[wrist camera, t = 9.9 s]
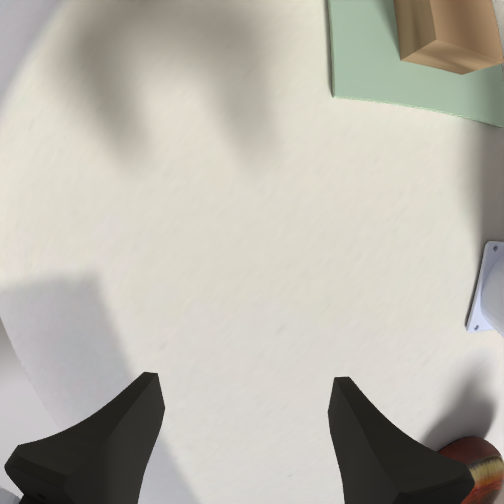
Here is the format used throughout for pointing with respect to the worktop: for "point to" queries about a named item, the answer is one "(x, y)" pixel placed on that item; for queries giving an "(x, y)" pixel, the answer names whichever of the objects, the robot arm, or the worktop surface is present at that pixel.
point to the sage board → (402, 68)
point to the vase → (479, 468)
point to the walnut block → (448, 34)
